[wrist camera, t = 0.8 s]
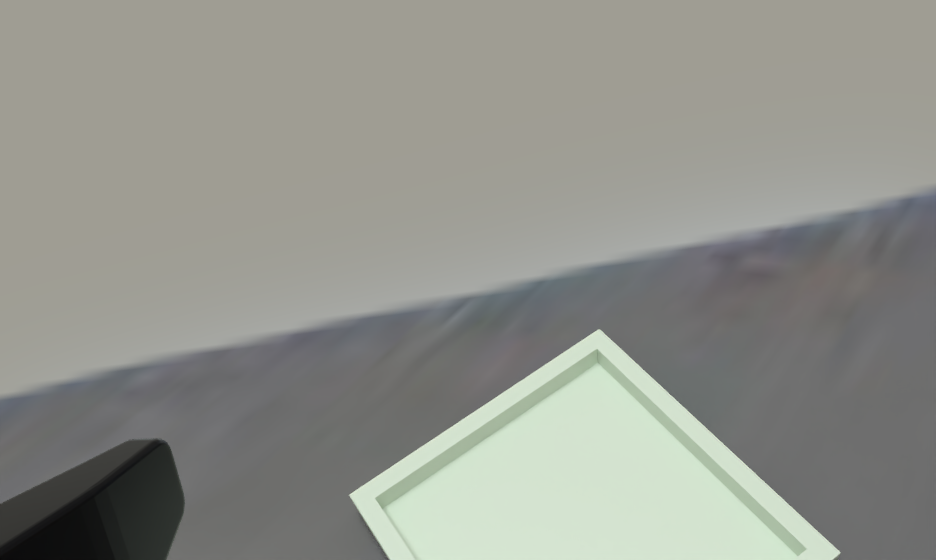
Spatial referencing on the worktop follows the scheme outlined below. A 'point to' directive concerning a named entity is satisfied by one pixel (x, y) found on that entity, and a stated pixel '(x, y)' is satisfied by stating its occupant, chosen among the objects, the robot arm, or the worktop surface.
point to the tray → (582, 479)
